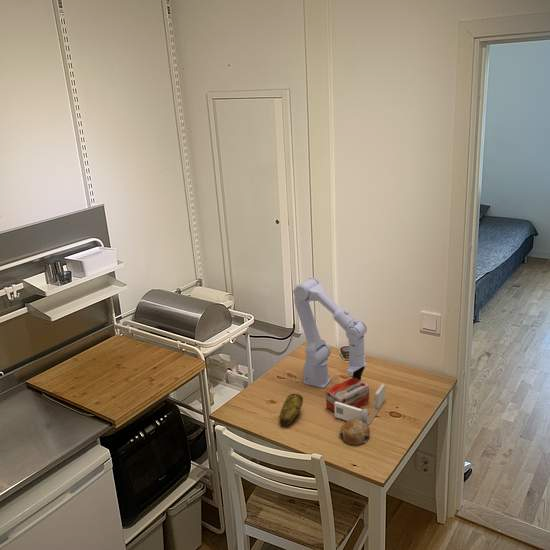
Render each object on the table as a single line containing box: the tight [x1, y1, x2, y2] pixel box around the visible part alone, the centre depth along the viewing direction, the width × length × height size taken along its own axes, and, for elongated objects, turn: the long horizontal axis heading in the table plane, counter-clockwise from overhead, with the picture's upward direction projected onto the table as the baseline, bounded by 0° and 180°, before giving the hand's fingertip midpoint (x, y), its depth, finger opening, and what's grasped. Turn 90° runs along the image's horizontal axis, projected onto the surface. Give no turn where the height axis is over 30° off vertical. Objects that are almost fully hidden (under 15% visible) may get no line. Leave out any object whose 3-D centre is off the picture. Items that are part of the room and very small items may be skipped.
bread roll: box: [338, 420, 371, 446], centre depth 203 cm, size 10×10×8 cm
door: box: [334, 401, 363, 422], centre depth 211 cm, size 1×11×6 cm, turn 55°
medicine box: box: [325, 376, 370, 413], centre depth 220 cm, size 15×8×8 cm, turn 126°
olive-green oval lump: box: [279, 393, 304, 426], centre depth 215 cm, size 8×13×8 cm, turn 136°
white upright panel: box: [362, 383, 386, 427], centre depth 215 cm, size 2×21×7 cm, turn 151°
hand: (357, 383), depth 227 cm, fingers closed, pressing on medicine box
